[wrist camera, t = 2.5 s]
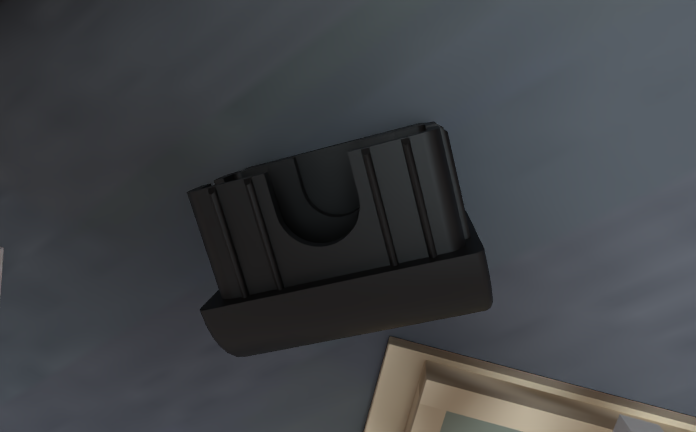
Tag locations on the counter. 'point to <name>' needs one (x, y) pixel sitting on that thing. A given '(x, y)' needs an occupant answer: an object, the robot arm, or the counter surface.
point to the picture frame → (492, 398)
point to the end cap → (340, 243)
